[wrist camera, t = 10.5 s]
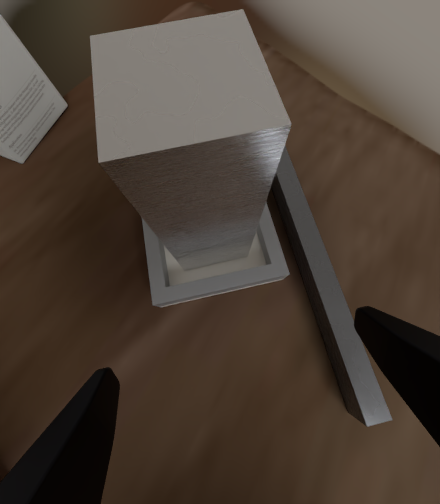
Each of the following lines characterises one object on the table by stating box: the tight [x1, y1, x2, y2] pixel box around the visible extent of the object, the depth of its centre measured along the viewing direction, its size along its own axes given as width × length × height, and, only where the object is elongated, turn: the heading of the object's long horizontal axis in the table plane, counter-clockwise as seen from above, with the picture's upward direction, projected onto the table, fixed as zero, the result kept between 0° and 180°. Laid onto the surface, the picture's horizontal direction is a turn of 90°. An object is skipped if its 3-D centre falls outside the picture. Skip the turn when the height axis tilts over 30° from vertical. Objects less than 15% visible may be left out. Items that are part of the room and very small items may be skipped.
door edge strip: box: [271, 146, 392, 426], centre depth 16 cm, size 20×2×2 cm, turn 13°
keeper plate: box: [142, 203, 290, 307], centre depth 17 cm, size 10×10×2 cm
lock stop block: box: [90, 9, 292, 271], centre depth 12 cm, size 5×5×12 cm
